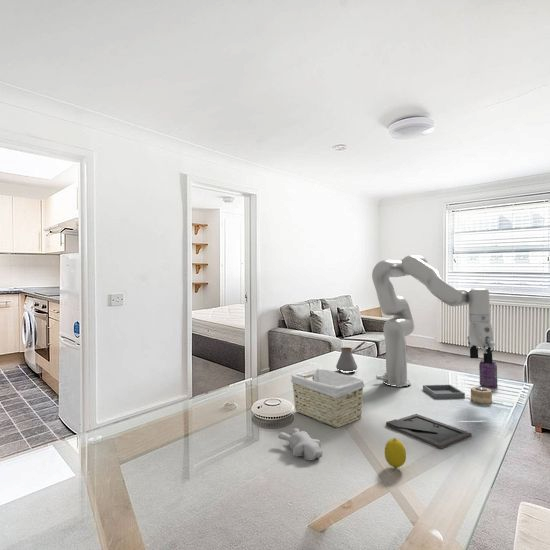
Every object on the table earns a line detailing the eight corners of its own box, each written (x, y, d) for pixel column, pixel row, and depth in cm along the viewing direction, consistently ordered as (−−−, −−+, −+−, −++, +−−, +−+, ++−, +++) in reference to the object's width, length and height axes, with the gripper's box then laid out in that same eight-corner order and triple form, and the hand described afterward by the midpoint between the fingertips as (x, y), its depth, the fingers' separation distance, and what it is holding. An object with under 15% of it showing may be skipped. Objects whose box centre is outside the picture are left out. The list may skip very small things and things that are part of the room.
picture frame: (385, 427, 128) (440, 451, 110) (385, 421, 128) (440, 444, 110) (416, 418, 136) (471, 438, 118) (416, 412, 136) (471, 432, 118)
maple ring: (477, 403, 147) (477, 392, 147) (468, 398, 154) (468, 387, 154) (495, 403, 147) (494, 391, 147) (484, 397, 154) (484, 386, 154)
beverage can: (492, 384, 174) (492, 359, 174) (500, 389, 167) (499, 362, 167) (477, 384, 175) (476, 359, 175) (484, 388, 168) (483, 362, 168)
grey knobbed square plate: (477, 405, 147) (476, 391, 147) (466, 398, 155) (466, 385, 155) (497, 404, 147) (496, 391, 147) (485, 398, 155) (485, 385, 155)
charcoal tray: (435, 399, 154) (435, 393, 154) (422, 390, 167) (422, 385, 167) (464, 399, 154) (464, 393, 154) (450, 390, 167) (450, 384, 167)
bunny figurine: (303, 452, 101) (275, 427, 114) (302, 470, 102) (274, 443, 114) (330, 443, 106) (300, 421, 119) (329, 460, 107) (299, 436, 119)
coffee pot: (347, 375, 195) (346, 347, 195) (331, 371, 204) (331, 344, 204) (374, 369, 207) (373, 342, 207) (358, 365, 216) (357, 340, 216)
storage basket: (367, 419, 134) (366, 378, 135) (336, 431, 124) (336, 387, 124) (319, 403, 153) (318, 367, 153) (290, 412, 143) (289, 374, 143)
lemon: (381, 463, 102) (381, 434, 102) (401, 462, 102) (400, 433, 103) (389, 474, 96) (388, 443, 97) (410, 473, 97) (409, 442, 97)
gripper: (501, 320, 143) (503, 365, 142) (476, 316, 160) (477, 356, 160) (482, 321, 143) (484, 365, 142) (459, 316, 160) (460, 356, 159)
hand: (480, 360), depth 151 cm, fingers open, 9 cm apart
